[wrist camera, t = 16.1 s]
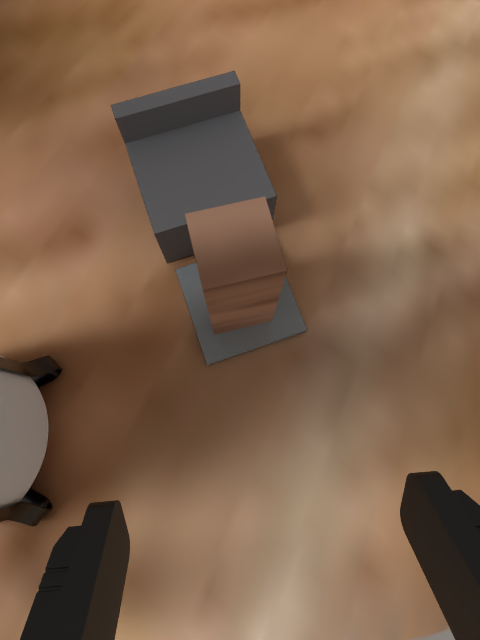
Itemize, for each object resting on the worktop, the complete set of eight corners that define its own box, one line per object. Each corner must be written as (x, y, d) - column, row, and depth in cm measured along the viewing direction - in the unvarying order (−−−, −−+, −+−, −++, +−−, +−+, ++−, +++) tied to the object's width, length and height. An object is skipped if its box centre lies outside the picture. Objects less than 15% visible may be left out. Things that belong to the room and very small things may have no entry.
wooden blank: (201, 280, 31) (184, 213, 21) (257, 267, 31) (264, 196, 22) (214, 334, 30) (202, 290, 20) (271, 321, 30) (287, 270, 21)
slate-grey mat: (176, 272, 32) (175, 269, 31) (269, 242, 33) (270, 238, 32) (207, 365, 30) (206, 364, 29) (306, 331, 31) (307, 329, 30)
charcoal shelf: (137, 172, 34) (110, 104, 27) (235, 143, 35) (234, 70, 28) (166, 263, 32) (146, 215, 25) (271, 230, 33) (279, 174, 26)
